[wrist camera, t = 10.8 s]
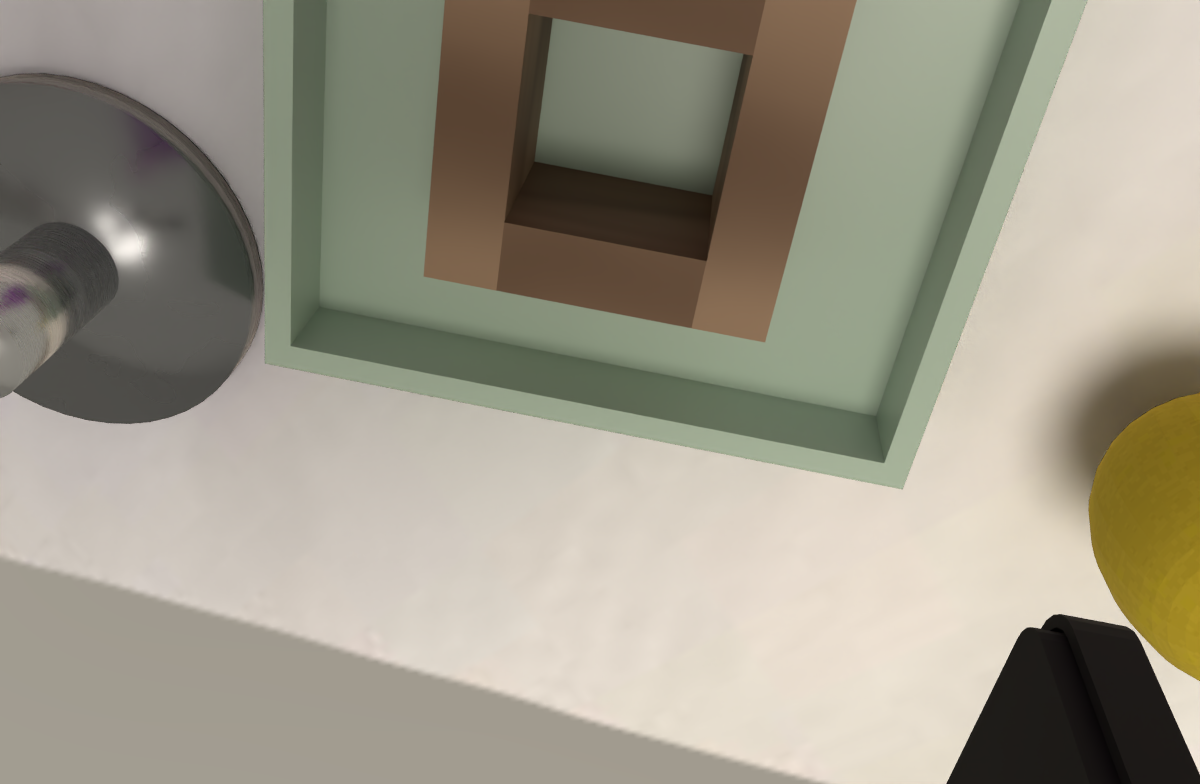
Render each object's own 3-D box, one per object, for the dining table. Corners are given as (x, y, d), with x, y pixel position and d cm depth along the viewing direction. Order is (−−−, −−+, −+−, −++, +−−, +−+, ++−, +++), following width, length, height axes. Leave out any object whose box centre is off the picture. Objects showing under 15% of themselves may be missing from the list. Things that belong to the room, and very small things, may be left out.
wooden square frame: (492, -120, 22) (452, -94, 19) (846, -54, 22) (861, -17, 19) (462, 211, 25) (423, 276, 22) (763, 269, 25) (765, 342, 22)
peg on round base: (-60, 372, 30) (-193, 479, 26) (-122, 40, 25) (-297, 104, 21) (263, 436, 30) (183, 554, 26) (261, 114, 25) (162, 194, 21)
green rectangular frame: (302, 313, 28) (264, 363, 26) (313, -414, 20) (260, -430, 18) (891, 430, 28) (902, 489, 26) (1139, -261, 20) (1185, -259, 18)
